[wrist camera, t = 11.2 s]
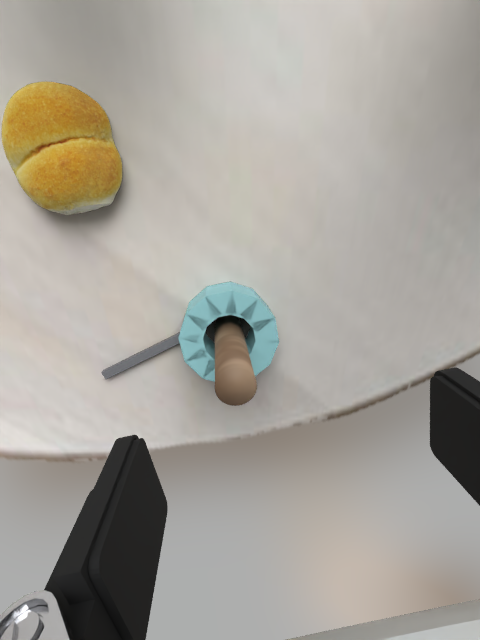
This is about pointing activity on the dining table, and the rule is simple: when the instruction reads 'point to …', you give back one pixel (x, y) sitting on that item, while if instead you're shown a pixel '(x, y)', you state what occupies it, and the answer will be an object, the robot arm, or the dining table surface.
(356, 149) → the dining table surface
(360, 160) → the dining table surface
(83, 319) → the dining table surface
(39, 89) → the bread roll
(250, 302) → the bead
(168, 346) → the thin grey bar
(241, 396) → the round-ended wooden dowel
